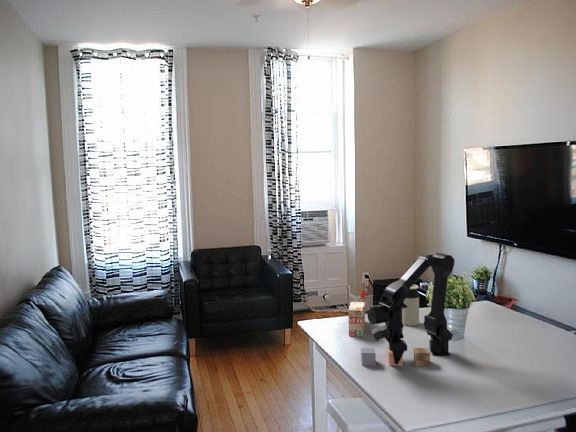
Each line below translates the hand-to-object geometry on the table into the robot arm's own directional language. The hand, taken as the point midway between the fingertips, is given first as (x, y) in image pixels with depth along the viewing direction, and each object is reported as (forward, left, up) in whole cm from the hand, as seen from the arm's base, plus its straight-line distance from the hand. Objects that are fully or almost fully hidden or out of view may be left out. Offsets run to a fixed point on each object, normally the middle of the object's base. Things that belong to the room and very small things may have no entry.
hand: (394, 360), depth 181 cm
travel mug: (-14, -45, -1) cm, 47 cm away
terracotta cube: (0, 0, -1) cm, 1 cm away
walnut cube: (-10, 0, -1) cm, 10 cm away
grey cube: (+10, 0, -1) cm, 10 cm away
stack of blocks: (+11, -39, -1) cm, 40 cm away
